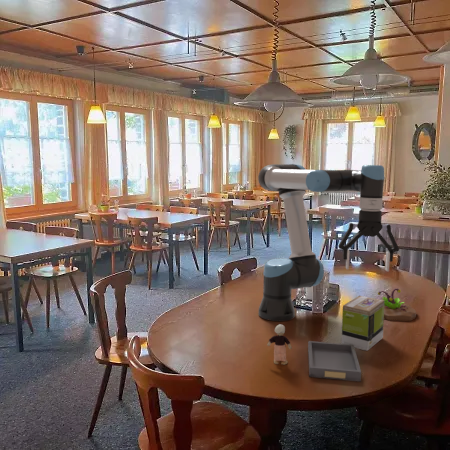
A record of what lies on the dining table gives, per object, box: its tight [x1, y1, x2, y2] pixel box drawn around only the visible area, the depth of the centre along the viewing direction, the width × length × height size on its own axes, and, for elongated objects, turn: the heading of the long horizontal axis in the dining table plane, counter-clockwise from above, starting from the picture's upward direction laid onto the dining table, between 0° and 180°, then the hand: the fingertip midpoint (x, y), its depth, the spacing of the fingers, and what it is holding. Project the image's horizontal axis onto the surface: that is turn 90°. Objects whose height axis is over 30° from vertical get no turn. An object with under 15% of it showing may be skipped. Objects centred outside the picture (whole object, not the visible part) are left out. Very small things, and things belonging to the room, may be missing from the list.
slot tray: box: [307, 340, 362, 382], centre depth 143 cm, size 15×20×3 cm
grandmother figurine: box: [266, 323, 293, 366], centre depth 143 cm, size 8×4×13 cm, turn 88°
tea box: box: [340, 295, 385, 351], centre depth 161 cm, size 15×10×15 cm, turn 141°
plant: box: [377, 288, 417, 322], centre depth 192 cm, size 20×20×11 cm
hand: (366, 269), depth 158 cm, fingers open, 13 cm apart
